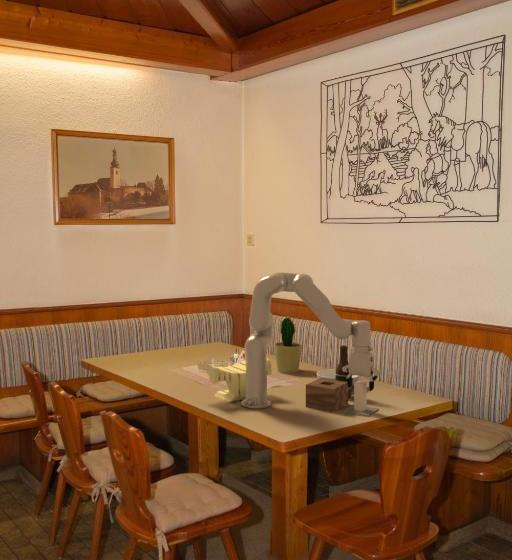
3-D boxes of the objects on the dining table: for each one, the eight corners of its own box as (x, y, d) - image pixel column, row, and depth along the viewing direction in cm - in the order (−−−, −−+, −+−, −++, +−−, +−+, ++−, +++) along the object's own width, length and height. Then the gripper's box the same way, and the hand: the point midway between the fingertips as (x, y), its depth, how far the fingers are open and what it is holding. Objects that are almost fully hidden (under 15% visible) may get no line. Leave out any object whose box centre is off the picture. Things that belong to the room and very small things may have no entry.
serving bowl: (358, 393, 312) (358, 379, 311) (314, 391, 316) (314, 377, 315) (360, 383, 332) (360, 369, 331) (318, 381, 336) (319, 367, 336)
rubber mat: (367, 416, 275) (367, 415, 275) (341, 412, 281) (341, 411, 281) (378, 409, 285) (378, 408, 285) (353, 405, 292) (353, 404, 291)
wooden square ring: (334, 411, 282) (334, 388, 281) (305, 406, 290) (305, 384, 289) (348, 404, 294) (348, 382, 293) (320, 399, 301) (320, 378, 301)
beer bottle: (340, 393, 312) (341, 343, 309) (354, 396, 307) (355, 345, 304) (331, 397, 306) (332, 346, 303) (346, 399, 301) (346, 348, 298)
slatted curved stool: (215, 406, 290) (214, 367, 289) (198, 398, 304) (198, 360, 302) (271, 396, 307) (271, 359, 305) (253, 389, 320) (253, 353, 318)
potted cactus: (301, 374, 350) (301, 319, 347) (272, 373, 352) (272, 318, 350) (303, 368, 365) (303, 314, 362) (276, 367, 368) (275, 314, 365)
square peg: (362, 411, 280) (362, 384, 279) (354, 410, 283) (354, 382, 282) (366, 409, 284) (366, 382, 283) (357, 407, 286) (358, 380, 285)
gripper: (383, 350, 279) (383, 389, 281) (346, 345, 289) (345, 384, 290) (376, 353, 273) (376, 393, 275) (338, 348, 282) (338, 387, 284)
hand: (360, 388), depth 282 cm, fingers open, 9 cm apart
